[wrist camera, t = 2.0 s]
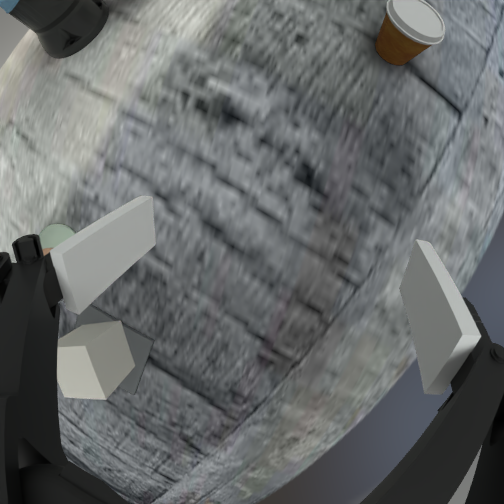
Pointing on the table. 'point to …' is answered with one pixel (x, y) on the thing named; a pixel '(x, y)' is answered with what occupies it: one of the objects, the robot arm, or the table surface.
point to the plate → (55, 235)
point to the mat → (136, 342)
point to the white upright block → (93, 360)
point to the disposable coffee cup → (408, 30)
